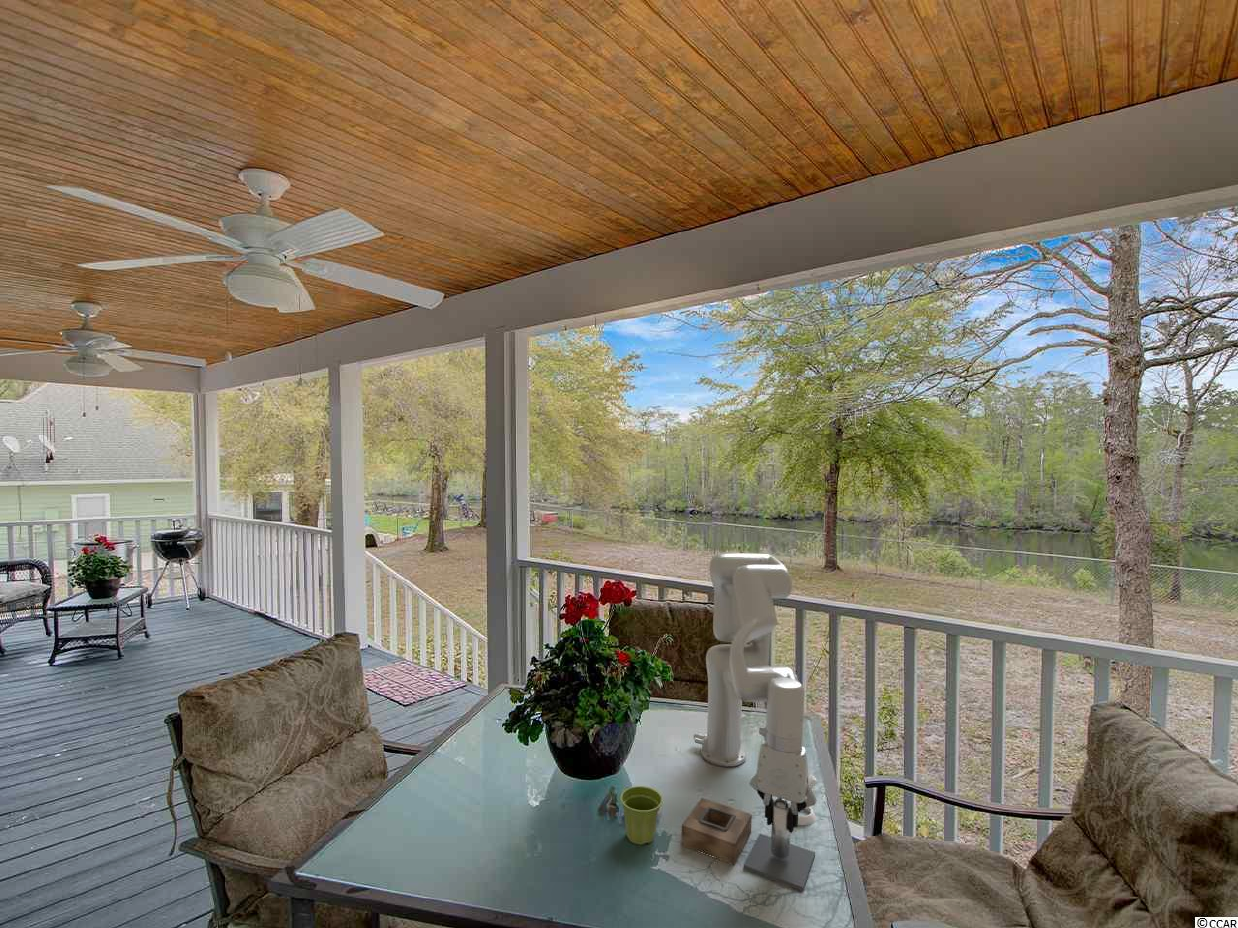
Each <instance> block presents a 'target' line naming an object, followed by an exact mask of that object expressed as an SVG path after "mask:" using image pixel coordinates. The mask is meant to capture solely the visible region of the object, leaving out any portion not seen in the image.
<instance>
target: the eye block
mask: <svg viewBox="0 0 1238 928" xmlns="http://www.w3.org/2000/svg"><path fill="white" fill-rule="evenodd" d="M752 815H753V813H749V812H747V811H744V810H742V809H741V810H740V809H737V808H735V807H732V806H728V805H724V804H722V803H718V802H716V801H713V800H710V799H707V798H704V797H701V798H700V800H699V801H698V802H697V804H696V805H695V806H694V808H693V809H692V811H691V812H690V813H689V814H688V816H687V817H686V818H685V820H684V821H683V823H682V824H681V840H680V842H681V843H680V845H681V846H682V847H685V848H688V849H690V850H692V849H693V851H695V850H697V851H696V852H698V851H700V852H703V853H705V854H704V855H706V854H708V855H711V856H714V857H716V858H718V859H717V860H719V859H721V860H723V861H722V862H724V861H725V863H727V862H728V863H727V864H729V863H731V864H730V865H732V864H733V865H732V866H735V865H736V863H737V861H738V859H739V857H740V856H739V855H741V854H742V852H743V850H744V848H745V846H746V844H747V842H748V840H749V839H748V838H750V837H749V836H751V835H752V821H753V820H752ZM750 834H751V835H750ZM700 852H699V853H700ZM703 853H702V854H703ZM708 855H707V856H708ZM711 856H710V857H711ZM714 857H713V858H714ZM716 858H715V859H716ZM721 860H720V861H721Z"/></svg>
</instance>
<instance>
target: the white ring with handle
mask: <svg viewBox="0 0 1238 928" xmlns="http://www.w3.org/2000/svg"><path fill="white" fill-rule="evenodd" d="M817 782H818V780H817V778H816V777H815V776H814V775H813V774H810V775H808V784H809V786H810V788H811V790H812V789H813V788H814V787H815V786H816V785H817ZM787 802H788V803H789V804H790V805H791V802H790V801H787ZM804 810H806V811H807V812H809V814H808V815H798V826H809V825H811V824H814V823H815V822H816V814H815V812H814V810H813V808H812V806H810V807H806V808H805V809H804Z"/></svg>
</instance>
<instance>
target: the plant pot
mask: <svg viewBox="0 0 1238 928" xmlns="http://www.w3.org/2000/svg"><path fill="white" fill-rule="evenodd" d="M620 801H621V804H622V809H623V811H624V822H625V824H624V825H625V832H626V835H625V836H626V837H627V838H628V840H629V842H630V843H633V844H636V845H644V844H646V843H648V844H649V843H650V844H651V842H652V841H653V840H654V836H655V831H656V825H657V820H658V815H659V811H660V808H661V806H662V804H663V797H662V794H661V793H660V792H659V791H657V790H656V789H654V788H652V787H649V786H644V785H643V786H641V785H636V786H630V787H628V788H626V789H625V790H623V791H622V792H621V794H620Z"/></svg>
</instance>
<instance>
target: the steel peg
mask: <svg viewBox="0 0 1238 928" xmlns="http://www.w3.org/2000/svg"><path fill="white" fill-rule="evenodd" d="M788 802H789V801H788V800H785V799H781V798H778V797H776V799H775V800H774V801H773V803H772V823H771V829H770V830H771V831H770V832H771V835H770V837H771V852H772V854H773V855H775V856H776V857H779V858H786V857H788V856H789V852H790V844H791V833H790V832H789V831H788V830H789V813H790V811H791V805H790V804H789V803H788Z"/></svg>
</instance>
